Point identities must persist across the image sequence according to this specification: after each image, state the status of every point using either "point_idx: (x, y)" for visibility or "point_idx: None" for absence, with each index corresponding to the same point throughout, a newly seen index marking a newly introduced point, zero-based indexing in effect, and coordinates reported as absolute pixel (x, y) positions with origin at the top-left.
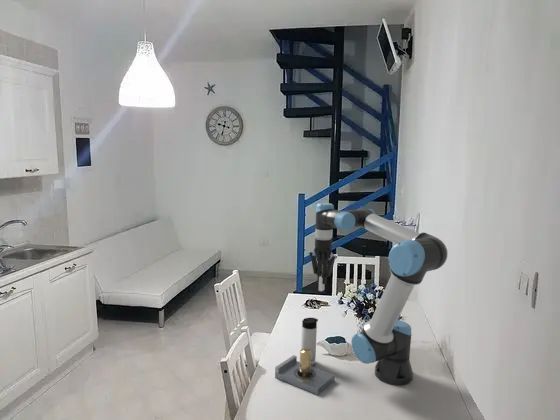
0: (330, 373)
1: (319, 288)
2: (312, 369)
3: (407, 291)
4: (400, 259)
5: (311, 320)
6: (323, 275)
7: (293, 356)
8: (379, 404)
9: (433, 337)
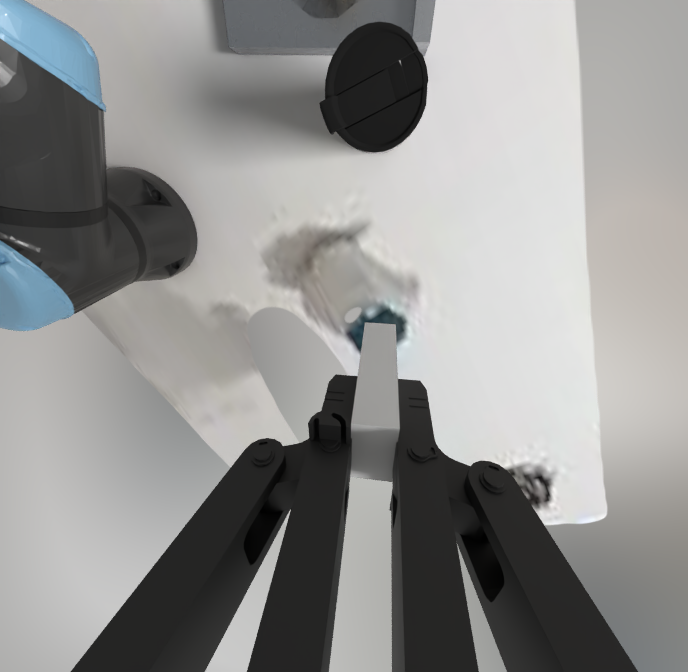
0: (246, 46)
1: (386, 335)
2: (317, 20)
3: None
4: None
5: (368, 111)
6: (324, 445)
7: (425, 28)
8: (50, 3)
9: (206, 442)
